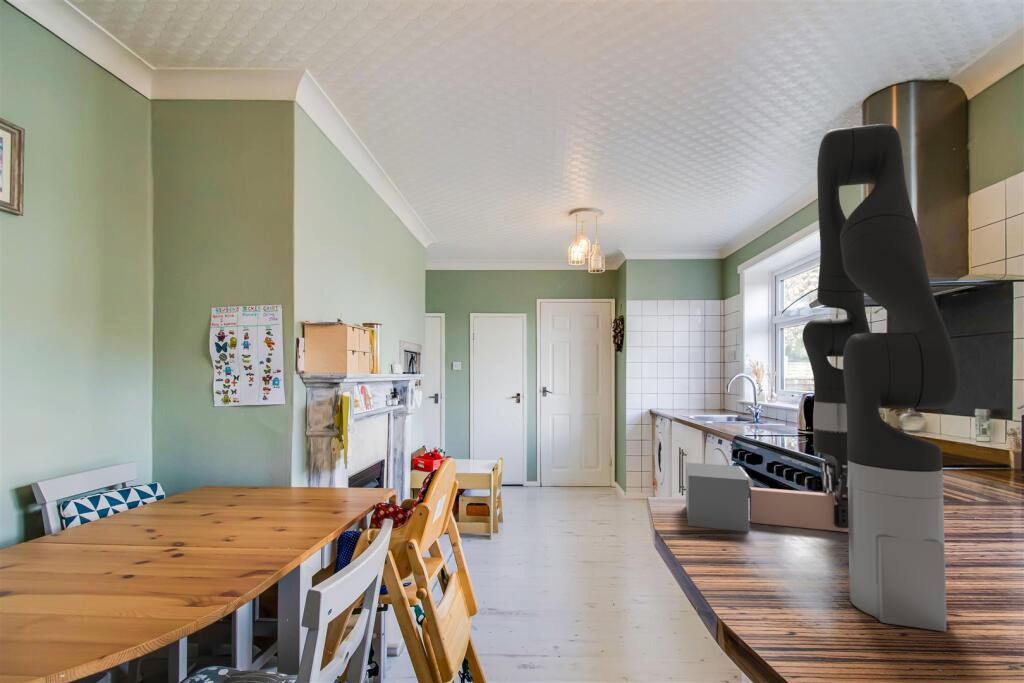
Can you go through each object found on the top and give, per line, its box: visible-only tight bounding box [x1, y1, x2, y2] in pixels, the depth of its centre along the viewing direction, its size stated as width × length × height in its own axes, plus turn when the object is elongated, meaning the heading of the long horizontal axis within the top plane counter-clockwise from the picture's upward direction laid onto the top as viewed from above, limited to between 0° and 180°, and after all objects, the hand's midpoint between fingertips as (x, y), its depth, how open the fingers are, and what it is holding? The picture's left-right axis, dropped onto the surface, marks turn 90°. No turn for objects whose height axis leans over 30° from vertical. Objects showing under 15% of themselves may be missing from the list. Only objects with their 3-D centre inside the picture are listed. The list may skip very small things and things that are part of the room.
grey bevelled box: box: [685, 462, 755, 533], centre depth 97 cm, size 14×11×9 cm
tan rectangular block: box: [748, 486, 849, 533], centre depth 93 cm, size 2×16×6 cm, turn 73°
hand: (838, 524), depth 91 cm, fingers closed on tan rectangular block, 2 cm apart
